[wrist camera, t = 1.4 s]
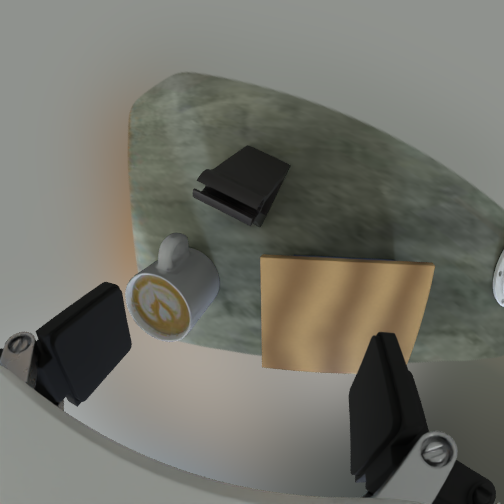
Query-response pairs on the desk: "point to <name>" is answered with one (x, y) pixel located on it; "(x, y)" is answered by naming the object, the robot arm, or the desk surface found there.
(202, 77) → the desk surface
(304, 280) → the oak board
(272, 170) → the phone stand
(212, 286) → the coffee mug
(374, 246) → the desk surface
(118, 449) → the robot arm
